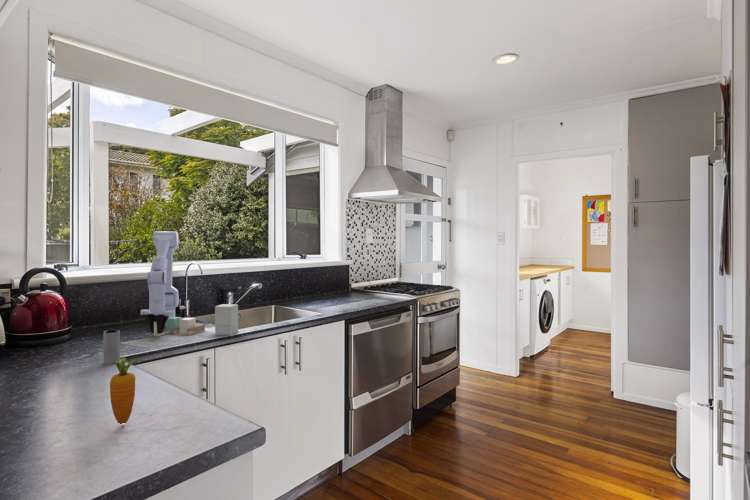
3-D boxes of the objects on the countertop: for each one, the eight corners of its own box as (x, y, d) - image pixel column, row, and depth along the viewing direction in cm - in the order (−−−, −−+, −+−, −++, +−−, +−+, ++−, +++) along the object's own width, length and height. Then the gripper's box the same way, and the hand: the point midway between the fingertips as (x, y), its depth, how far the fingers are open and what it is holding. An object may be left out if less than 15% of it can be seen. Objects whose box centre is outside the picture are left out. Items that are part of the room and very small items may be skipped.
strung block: (150, 336, 171) (150, 322, 171) (172, 330, 184) (172, 316, 184) (159, 337, 170) (159, 322, 170) (181, 330, 183) (181, 317, 183)
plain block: (179, 333, 178) (179, 319, 178) (186, 331, 182) (186, 317, 182) (188, 334, 177) (188, 320, 176) (195, 332, 181) (195, 318, 181)
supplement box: (238, 332, 183) (238, 304, 183) (231, 336, 176) (231, 306, 175) (222, 332, 184) (222, 303, 183) (214, 336, 176) (214, 306, 176)
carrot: (116, 421, 93) (116, 354, 93) (140, 421, 93) (140, 354, 93) (104, 431, 88) (104, 360, 88) (129, 431, 88) (129, 360, 88)
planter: (123, 361, 138) (123, 330, 138) (110, 365, 134) (110, 333, 134) (113, 360, 140) (112, 329, 140) (100, 363, 136) (100, 332, 135)
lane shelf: (158, 334, 178) (158, 326, 178) (175, 329, 188) (175, 322, 188) (189, 336, 174) (189, 328, 174) (204, 331, 184) (204, 324, 184)
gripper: (134, 300, 169) (134, 333, 170) (164, 302, 166) (164, 336, 166) (148, 298, 176) (148, 330, 177) (177, 299, 173) (177, 332, 173)
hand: (157, 333), depth 172 cm, fingers closed on strung block, 2 cm apart
